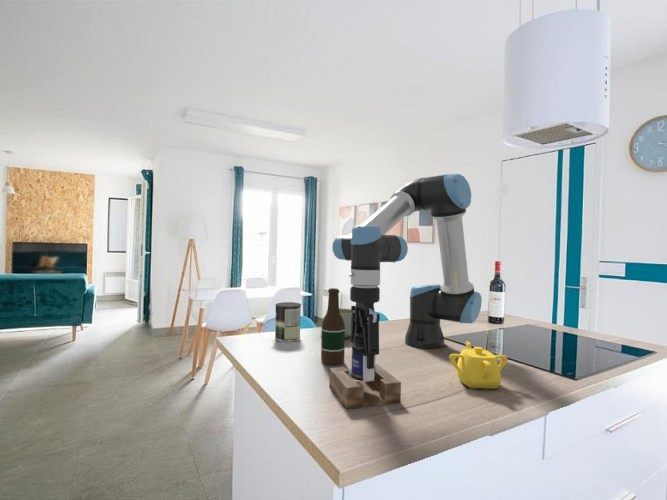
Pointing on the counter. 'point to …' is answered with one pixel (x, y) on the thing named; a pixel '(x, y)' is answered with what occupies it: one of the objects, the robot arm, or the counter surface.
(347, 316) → the planter
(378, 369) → the socket
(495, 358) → the teapot
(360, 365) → the pill bottle
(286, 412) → the counter surface
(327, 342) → the beer bottle
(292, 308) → the coffee can
